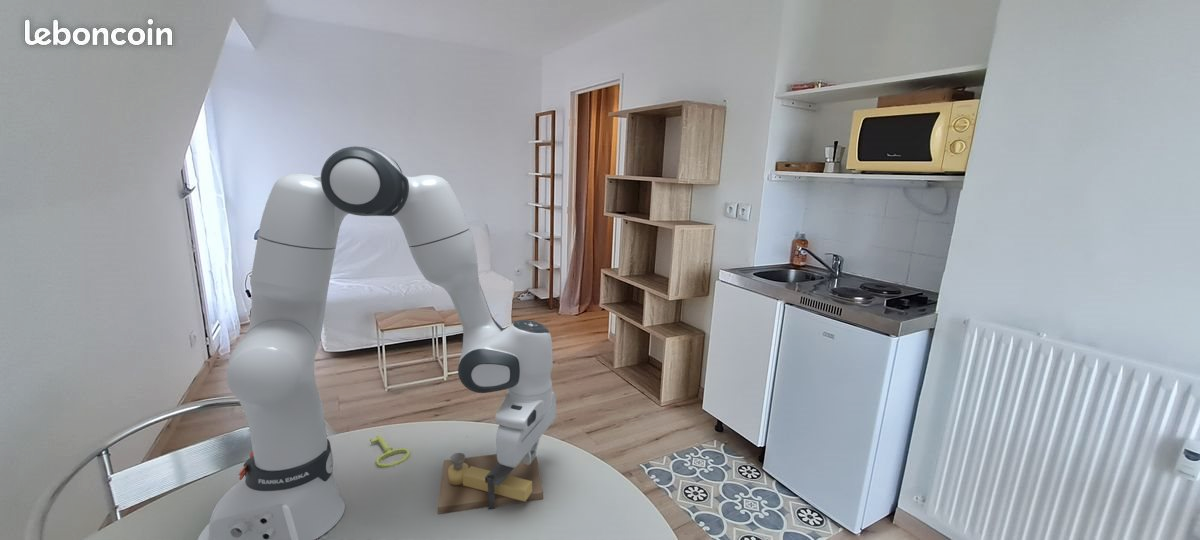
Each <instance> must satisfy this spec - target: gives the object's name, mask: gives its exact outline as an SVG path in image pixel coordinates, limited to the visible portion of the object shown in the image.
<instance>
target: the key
mask: <svg viewBox="0 0 1200 540" xmlns="http://www.w3.org/2000/svg"><path fill="white" fill-rule="evenodd" d="M369 442H370V443H371V444H373V443H377V442H378V443H379V445H380V447H381V448H382V449H383V453H382V454H381V455H379V456H378V457H377V458H376V459H375V466H376V467H377V468H378V467H379V469H387V468H388V467H389V468H392V467H391V466H393V467H396V466H398V465H400V463H401V464H403V463H404V462H406V461H407V460H408V459H409V458H410V457H411V452H410V450H409V449H408V448H404V447H401V448H395V449H394V448H393V447H392V446H389V445H388V443H387V442H386V440H385V439H384V438H383V436H382V435H381V434H377V435H376V437H373V438H370V439H369ZM399 453H400V454H405V453H406V454H405V455H404V456H403V457H402V458H401V459H398V460H396V461H394V462H390V463H381V462H382V461H383V460H385V459H387V458H390V457H392V456H394V455H395V454H396V455H400V454H399ZM389 456H390V457H389ZM406 459H407V460H406ZM381 460H382V461H381ZM405 460H406V461H405ZM380 461H381V462H380ZM379 462H380V463H379ZM402 462H403V463H402ZM397 464H398V465H397ZM395 465H396V466H395ZM389 468H388V469H389Z"/></svg>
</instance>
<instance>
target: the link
mask: <svg viewBox="0 0 1200 540" xmlns="http://www.w3.org/2000/svg"><path fill="white" fill-rule="evenodd" d="M489 472H490V471H489V470H485V469H481V468H477V467H472V466H471V467H470V468H468V465H467V464H466V463H463V467H462V468H461V469H459V470H455V469H454V464H453V465H451V466H450V467H449V468H448V476H449V483H451V484H453V485H460V484H463V485H464V486H468V487H471V488H475V489H479V490H483V491H487V492H488V483H486V482H485V476H486V475H487V474H488V473H489ZM531 493H532V481H529V480H525V479H521V478H517V477H513V476H509V475H508V476H507V477H506V478H505V480H504V481H503V482H502V483H501V484H500V485H499V486H497V485H494V494H498V495H502V496H506V497H510V498H513V499H517V500H521V501H526V500H527V498H528V497H529V496H530V494H531ZM526 502H527V501H526Z"/></svg>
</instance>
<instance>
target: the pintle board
mask: <svg viewBox="0 0 1200 540" xmlns="http://www.w3.org/2000/svg"><path fill="white" fill-rule="evenodd" d="M463 463H466V464H467V465H468V468H470V467H471V466H472V467H477V468H481V469H485V470H489V471H490V472H489V473H488V474H487V475H486V476H485V482H486V483H488V492H487V491H483V490H479V489H475V488H471V487H468V486H464V485H463V484H460V485H453V484H451V483H449V476H448V468H449V467H450V466H451V465H453V464H454V469H455V470H459V469H461V468H462V467H463ZM508 475H509V476H513V477H517V478H521V479H525V480H529V481H532V493H531V494H530V496H529V497H528V498H527V500H526V501H521V500H517V499H513V498H510V497H506V496H502V495H498V494H494V485H497V486H499V485H500V484H501V483H502V482H503V481H504V480H505V478H506V477H507V476H508ZM439 489H440V490H439V496H438V502H437V503H438V504H437V513H438V515H442V514H450V513H457V512H464V511H469V510H471V511H472V510H477V509H485V508H488V510H496V507H497V506H499V507H500V506H506V505H511V504H518V503H525V502H526V503H527V502H531V501H532V502H533V501H539V500H544V490H543V485H542V479H541V474H540V469H539V462H538V458H537V455H536V457H535V458H534V460H533V461H532V462H531V463H530V465H526V464H523V462H522V460H521V461H520V462H519V464H518V465H517V466H516V467H514V468H513V467H508V466H504V465H501V464H500V463H499V462H498V460H497V453H494V454H487V455H486V454H485V455H478V456H470V457H466V455H465V454H464V453H462V452H457V453H453V454H452V455H451V456H450V459H446V460H445V459H444V460H443V466H442V473H441V482H440V487H439Z"/></svg>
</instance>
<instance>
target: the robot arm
mask: <svg viewBox="0 0 1200 540" xmlns="http://www.w3.org/2000/svg"><path fill="white" fill-rule="evenodd" d="M349 214H350V215H354V216H358V217H359V216H360V217H373V216H374V217H375V216H376V217H393V218H395V220H396V221H397V222H398V224H399V225H400V227H401V229H402V232H403V234H404V237H405V240H406V243H407V245H408V248H409V250H410V253H411V256H412V258H413V260H414V262H415V264H416V266H417V268H418V270H419V271H420V273H421V275H422V276H423V278H424V279H425V280H426V281H428V282H430V283H431V284H434V285H435V286H438V287H439V286H440V287H441V288H443V289H444V290H445V291H446V293H448V295H449V297H450V299H451V301H452V304H453V307H454V309H455V312H456V314H457V317H458V319H459V321H460V323H461V326H462V330H463V331H462V332H463V333H462V335H463V336H462V343H461V352H460V355H459V362H458V367H457V373H458V374H457V375H458V378H459V381H460V382H461V384H462V385H463V386H464V387H465V388H466V389H467V390H469V391H471V392H474V393H477V394H489V393H493V392H500V391H505V390H507V393H506V394H505V397H504V400H503V402H502V404H501V405H500V406H499V408H498V410H497V412H496V414H495V418H494V421H495V422H494V423H495V424H496V425H498V427H497V429H496V437H495V438H496V440H495V441H496V444H495V445H496V454H497V460H498V462H499V463H500V464H501V465H504V466H508V467H513V468H514V467H516V466H517V465H518V464H519V462H520V461H521V460H522V462H523V464H526V465H530V463H531V462H532V461H533V460H534V458H535V457H536V456H537V450H538V445H539V443H540V438H541V437H542V436H543V435H544V433H545V432H546V431H547V430H548V429H549V428H550V426H551V425H552V424H553V423H554V421H555V420H556V416H557V401H556V394H555V392H554V391H553V381H552V377H551V373H552V369H553V365H554V364H553V360H554V355H553V354H554V353H553V342H552V335H551V333H550V331H549V329H548V328H547V327H546V326H545V325H544V324H542V323H540V322H538V321H534V320H529V319H520V320H515V321H513V322H512V323H511V324H510V325H509V326H508V327H506V328H503V327H502V326H501V325H500V324H499V323H498V322H497V320H495V319H494V317H493V315H492V313H491V311H490V307H489V306H488V302H487V300H486V297H485V294H484V291H483V289H482V286H481V283H480V280H479V279H480V278H479V266H478V265H479V263H478V256H477V251H476V250H477V249H476V245H475V241H474V237H473V234H472V230H471V228H470V224H469V222H468V219H467V217H466V214H465V212H464V209H463V207H462V204H461V202H460V201H459V199H458V196H457V195H456V193H455V191H454V189H453V188H452V186H451V184H450V183H449V182H448V181H447V180H446V179H445V178H443V177H441V176H439V175H434V174H421V175H416V176H408V175H406V174H404V173H403V171H402V169H401V167H400V165H399V164H398V163H397V161H396V160H395V159H393V158H392V157H391V156H390V155H388V154H386V153H385V152H383V151H382V150H379V149H377V148H376V147H375V148H374V147H369V146H347V147H344V148H341V149H339V150H337V151H335V152H334V153H332V154H331V155H330V156H329V157H328V158H327V159H326V161H325V162H324V163H323V165H322V169H321V172H320V175H314V174H309V173H291V174H285V175H283V176H280V178H278V179H277V180H276V181H275V183H274V184H273V186H272V188H271V190H270V193H269V196H268V199H267V201H266V203H265V207H264V209H263V213H262V216H261V220H260V224H259V228H258V233H257V240H256V245H255V253H254V256H253V262H252V269H251V276H250V279H249V281H250V282H249V284H250V286H251V287H250V288H251V310H250V319H249V325H248V328H247V330H246V332H245V334H244V336H243V337H242V338H241V340H240V341H239V342H238V344H237V345H236V347H235V348H234V349H233V350H232V352H231V354H230V355H229V358H228V359H229V360H228V361H227V362H228V363H227V370H226V382H227V387H228V389H229V391H230V392H231V393H232V395H234V396H235V397H236V398H237V399H238V402H239V404H240V406H241V408H242V411H243V413H244V416H245V418H246V421H247V424H248V428H249V434H250V441H251V446H252V450H251V452H249V458H248V459H247V460H246V461H245V462H244V464H243V468H242V469H241V470H240V471H239V473H238V476H239V481H238V482H237V483H236V484H234V485H233V486H232V487H230V488H229V489H228V491H226V492H225V494H224V495H223V496H222V497H221V498H220V500H218V502H217V503H216V505H215V507H214V509H213V511H212V513H211V515H210V518H209V522H208V523H207V525H206V526H205V527H204V529H202V531H201V533H200V534H199V536H198V537H197V538H196V540H316V539H318V538H320V537H321V536H323V535H324V534H327V532H329V531H330V530H331V529H332V528H334V526H336V525H337V524H338V523H339V521H340V520H341V518H342V517H343V515H344V513H345V510H346V509H345V508H346V505H345V504H346V503H345V500H344V499H343V498H342V496H341V494H340V492H339V489H338V486H337V484H336V480H335V477H334V456H333V452H332V446H331V442H330V439H329V438H328V434H327V426H326V420H325V418H326V417H325V410H324V409H325V408H324V404H323V403H324V402H323V401H322V400H321V396H320V394H319V390H318V386H317V381H316V378H315V377H316V376H315V360H316V355H317V352H318V350H319V347H320V344H321V339H322V338H321V337H322V331H323V326H324V319H325V314H326V313H325V312H326V306H327V301H328V300H327V299H328V291H329V287H330V286H329V285H330V280H331V275H332V269H333V265H334V260H335V255H336V254H335V253H336V249H337V243H338V238H339V232H340V228H341V225H342V222H343V221H344V219H345V217H346V216H347V215H349Z"/></svg>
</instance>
